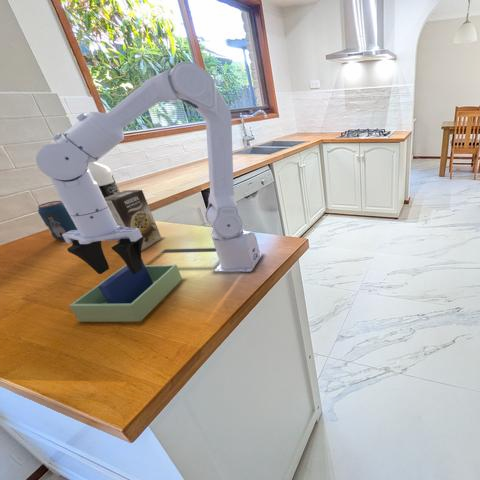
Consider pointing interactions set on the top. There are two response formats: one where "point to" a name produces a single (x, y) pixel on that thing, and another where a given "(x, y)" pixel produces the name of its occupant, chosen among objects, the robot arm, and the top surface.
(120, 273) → the blue flat block
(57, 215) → the soda can
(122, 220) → the coffee box
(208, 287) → the top surface
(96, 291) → the bin
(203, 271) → the top surface
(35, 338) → the top surface
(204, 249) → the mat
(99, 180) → the vodka
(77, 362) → the top surface
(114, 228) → the robot arm
